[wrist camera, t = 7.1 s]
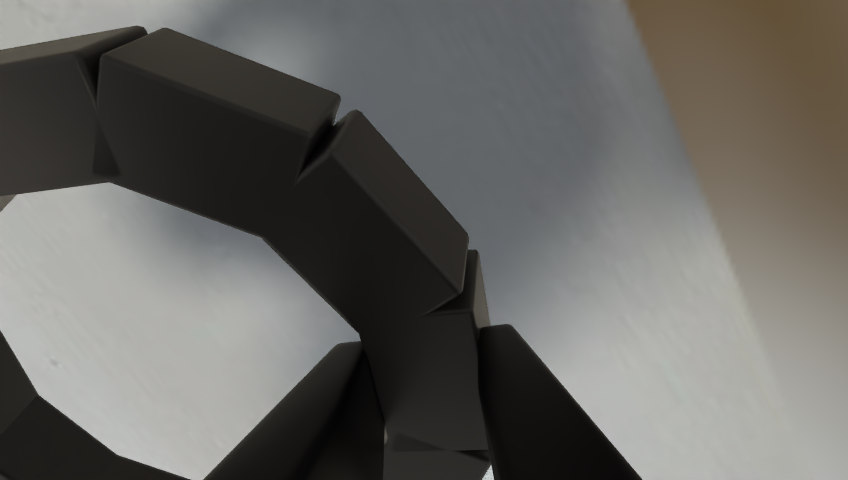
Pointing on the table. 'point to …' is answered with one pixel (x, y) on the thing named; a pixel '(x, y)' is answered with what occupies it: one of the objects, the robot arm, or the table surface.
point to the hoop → (252, 227)
